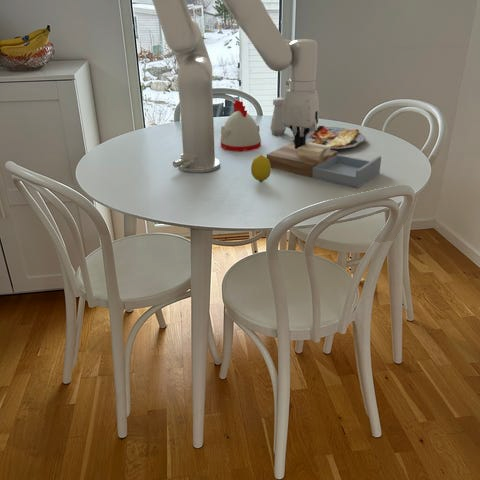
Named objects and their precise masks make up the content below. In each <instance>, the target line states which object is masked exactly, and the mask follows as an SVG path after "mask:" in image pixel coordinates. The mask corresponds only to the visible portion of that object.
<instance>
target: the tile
mask: <svg viewBox="0 0 480 480" xmlns="http://www.w3.org/2000/svg"><path fill="white" fill-rule="evenodd" d="M330 150H331V149H330V146H326V145H321V144H316V143H311V142H310V143H307V144H305V145H303V146H301V147H299V148H298V156H300V157H304V158H309V159H313V160H320V159H322V158H324V157H326V156H328V155H330Z"/></svg>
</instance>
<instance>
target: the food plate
mask: <svg viewBox="0 0 480 480" xmlns="http://www.w3.org/2000/svg"><path fill="white" fill-rule="evenodd" d="M292 139H293V140H294V135H293V134H292ZM365 140H367V139H366V136H365V135H363V134H362V132H361V133H360V130H359V129H347V128H343V127H337V126H336V127H335V126H325V125H324V124H323V125H317V130H316V131H313V132H309V133H308V134H307V135H306V142H305V144H307V143H310V142H311V143H316V144H321V145H326V146H330V150H334V151H337V150H339V149H340V150H342V149H346V148H347V149H349V148H354V147H356V146H358V145H360V144H361V143H362V142H364V141H365Z"/></svg>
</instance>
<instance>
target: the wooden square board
mask: <svg viewBox="0 0 480 480" xmlns="http://www.w3.org/2000/svg"><path fill="white" fill-rule="evenodd" d="M337 154H338V151H337V150H331V149H330V155H328V156H326V157H324V158H322V159H320V160H313V159H309V158H304V157H300V156H298V149H295V145H294V142H291V143H289V144H286V145H284V146H282V147H280V148H277V149H274V150H272V151H271V152H268V153H266V158H268V160H269V161H270V164H271V169H274V170H278V171H283V172H287V173H291V174H295V175H299V176H302V177H309V178H312V174H313V168H314V167H315V166H317V165H319V164H321V163H323V162H324V161H326V160H328V159H330V158H332V157H334V156H335V155H337ZM312 179H313V178H312Z"/></svg>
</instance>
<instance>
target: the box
mask: <svg viewBox="0 0 480 480" xmlns="http://www.w3.org/2000/svg"><path fill="white" fill-rule="evenodd" d="M381 163H382V156H380V155H379V156H377V157H375V158H374V159H372V160H368V159H367V160H366V159H361V158H357V157H352V156H346V155H341V154H338V153H337V155H335V156H334V157H332V158H330V159H328V160H326V161H324V162H323V163H321V164H319V165H317V166H315V167H314V168H313V174H312V179H315V180H316V179H317V180H321V181H325V182H329V183H332V184H336V185H337V184H338V185H341V186H345V187H351V188H355V189H358V188H360V187H361V186H363V185H365V184H366V183H367V182H368V181H371V179H372V178H374V177H376V176H378V175H379V174H380V172H381V171H380V170H381Z"/></svg>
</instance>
